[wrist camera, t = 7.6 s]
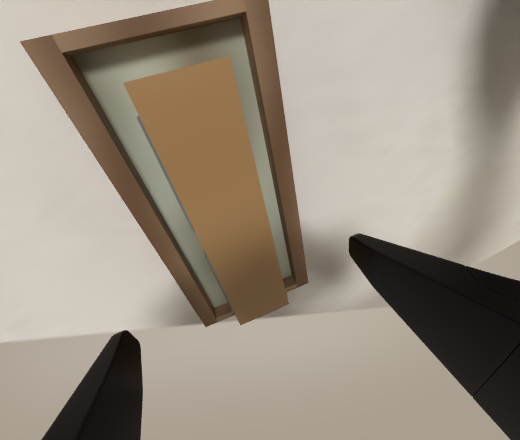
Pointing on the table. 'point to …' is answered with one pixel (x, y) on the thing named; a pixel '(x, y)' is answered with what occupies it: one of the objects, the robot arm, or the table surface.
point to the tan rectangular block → (214, 178)
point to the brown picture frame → (137, 146)
